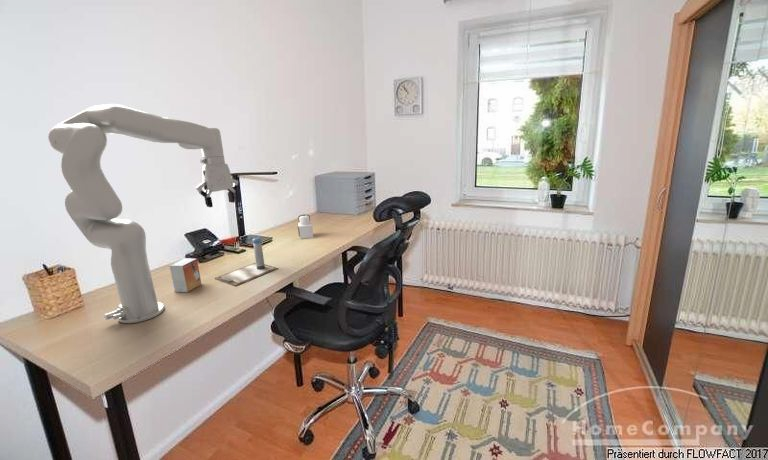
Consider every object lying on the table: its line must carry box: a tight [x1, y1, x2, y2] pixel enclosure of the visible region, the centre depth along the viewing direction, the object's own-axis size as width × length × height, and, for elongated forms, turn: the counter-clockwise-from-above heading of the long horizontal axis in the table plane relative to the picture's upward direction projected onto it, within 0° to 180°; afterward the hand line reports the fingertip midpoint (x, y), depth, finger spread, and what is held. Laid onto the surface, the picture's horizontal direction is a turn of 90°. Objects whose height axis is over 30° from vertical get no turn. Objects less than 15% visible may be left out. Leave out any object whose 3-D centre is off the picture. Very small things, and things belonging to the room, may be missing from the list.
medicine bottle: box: [297, 214, 314, 240], centre depth 195 cm, size 7×7×12 cm
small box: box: [169, 257, 202, 293], centre depth 137 cm, size 8×6×10 cm
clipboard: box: [214, 262, 279, 287], centre depth 149 cm, size 20×14×1 cm
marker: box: [252, 237, 266, 270], centre depth 151 cm, size 3×3×13 cm
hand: (221, 204), depth 146 cm, fingers open, 9 cm apart
